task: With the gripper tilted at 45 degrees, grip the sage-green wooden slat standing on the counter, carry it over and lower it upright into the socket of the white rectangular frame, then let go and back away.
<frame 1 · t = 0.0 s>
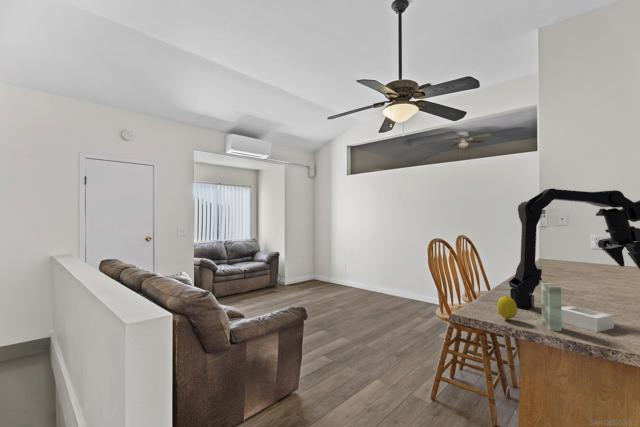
hand: (632, 268, 104), 15 cm above the worktop, tool pointing down, fingers open, 9 cm apart
lemon: (507, 320, 98), on the worktop
white rectangular frame: (584, 324, 94), on the worktop
slat: (551, 327, 91), on the worktop
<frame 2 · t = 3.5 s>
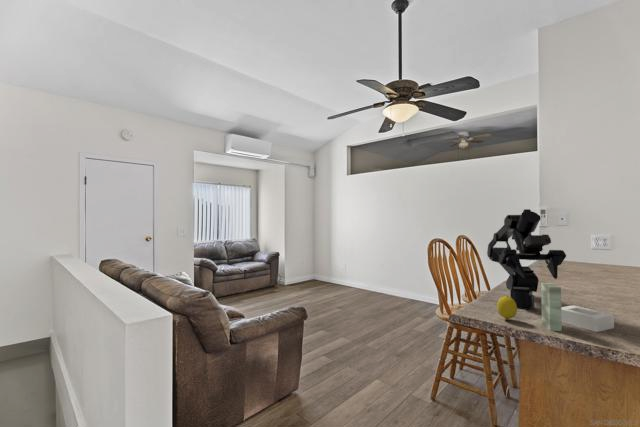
hand: (540, 277, 98), 14 cm above the worktop, tool tilted 45°, fingers open, 9 cm apart
nothing on the worktop moved.
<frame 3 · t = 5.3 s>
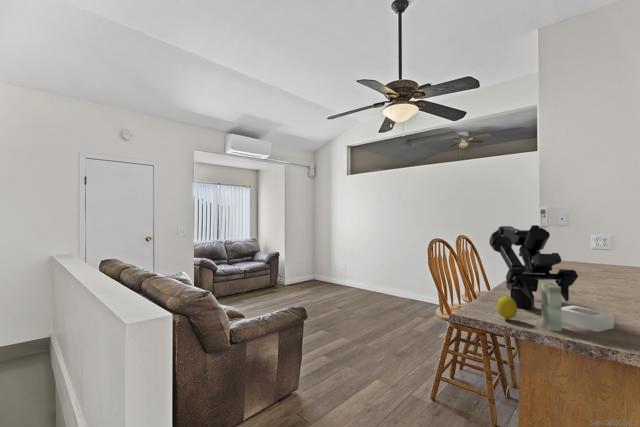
hand: (549, 299, 92), 8 cm above the worktop, tool tilted 45°, fingers open, 9 cm apart
nothing on the worktop moved.
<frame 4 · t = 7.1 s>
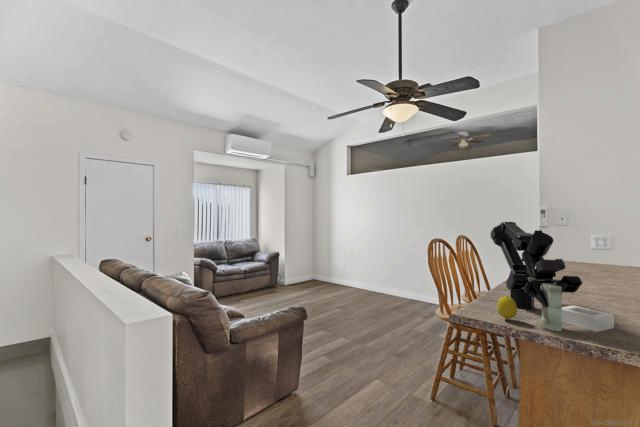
hand: (553, 307, 90), 7 cm above the worktop, tool tilted 45°, fingers closed on slat, 3 cm apart
slat: (551, 327, 91), on the worktop, touching gripper
everything else where it was.
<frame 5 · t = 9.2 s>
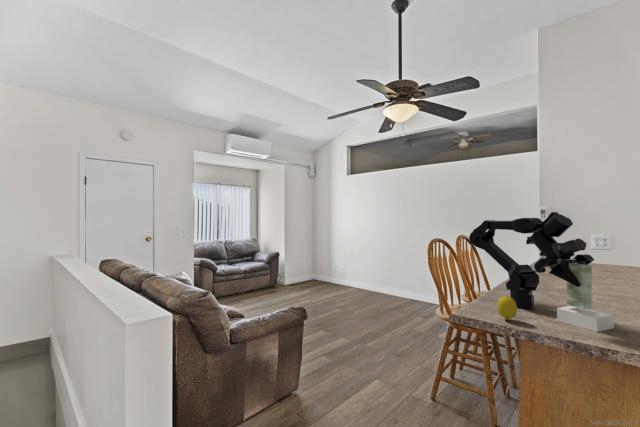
hand: (583, 285, 91), 13 cm above the worktop, tool tilted 45°, fingers closed on slat, 3 cm apart
slat: (578, 306, 93), point 6 cm above the worktop, touching gripper
everything else where it was.
when the fingers open (7 cm above the worktop, at t = 11.3 s): slat stays where it is, resting in white rectangular frame.
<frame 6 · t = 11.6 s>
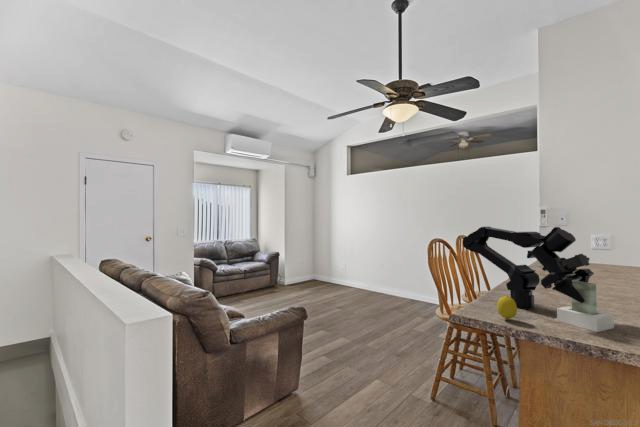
hand: (589, 301, 93), 8 cm above the worktop, tool tilted 45°, fingers open, 6 cm apart
slat: (584, 324, 94), resting in white rectangular frame
everything else where it was.
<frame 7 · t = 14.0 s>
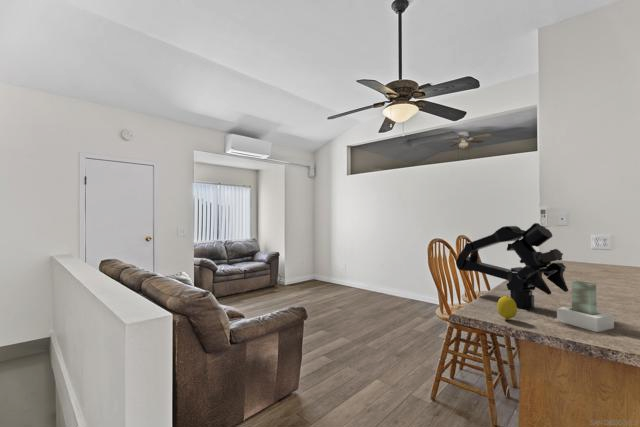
hand: (558, 292, 101), 8 cm above the worktop, tool tilted 40°, fingers open, 9 cm apart
nothing on the worktop moved.
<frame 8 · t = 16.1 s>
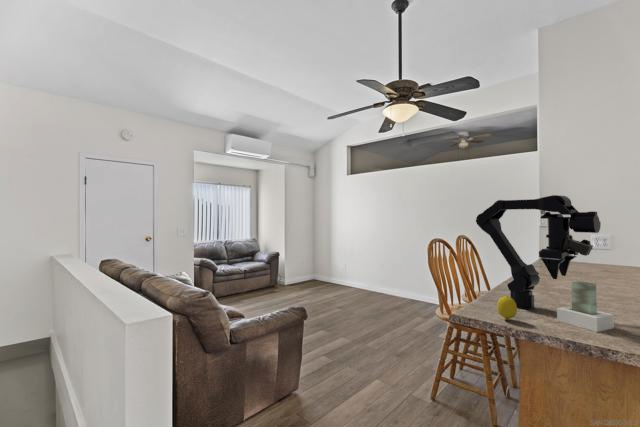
hand: (559, 277, 102), 13 cm above the worktop, tool pointing down, fingers open, 9 cm apart
nothing on the worktop moved.
at the end: slat 0.0 cm off-centre on the white rectangular frame, point 0.0 cm above the white rectangular frame's base; slat tilted 0°; the gripper is holding nothing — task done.
